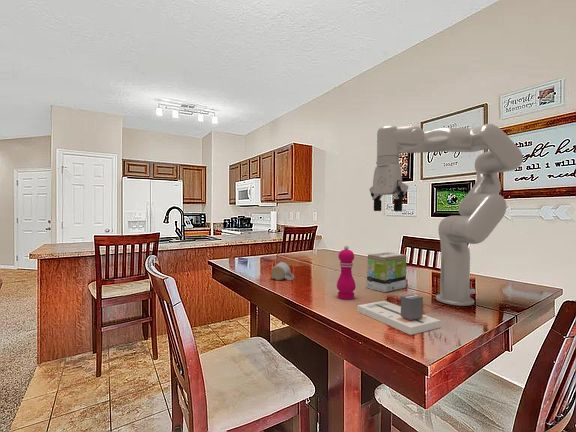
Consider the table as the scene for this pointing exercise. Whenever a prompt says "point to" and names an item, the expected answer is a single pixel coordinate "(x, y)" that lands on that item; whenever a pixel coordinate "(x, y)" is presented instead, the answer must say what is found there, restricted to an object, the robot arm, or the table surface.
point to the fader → (411, 307)
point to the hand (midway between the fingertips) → (387, 211)
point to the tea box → (386, 271)
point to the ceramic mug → (281, 272)
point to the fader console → (397, 317)
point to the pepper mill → (346, 275)
